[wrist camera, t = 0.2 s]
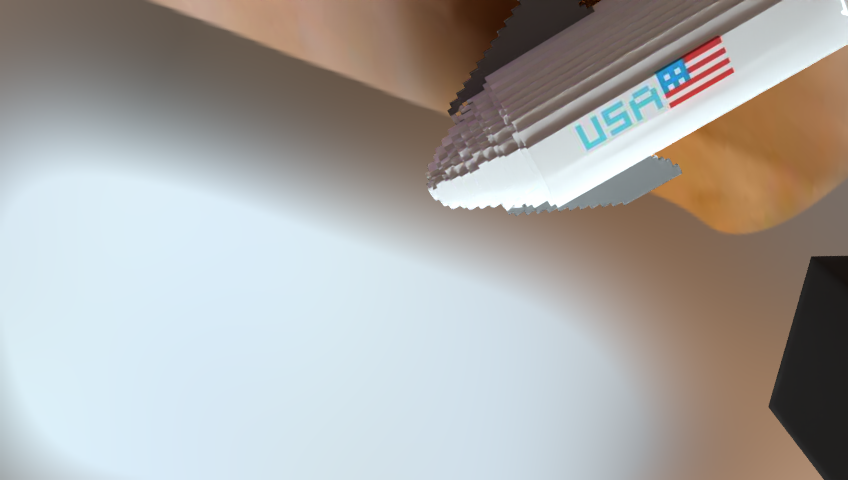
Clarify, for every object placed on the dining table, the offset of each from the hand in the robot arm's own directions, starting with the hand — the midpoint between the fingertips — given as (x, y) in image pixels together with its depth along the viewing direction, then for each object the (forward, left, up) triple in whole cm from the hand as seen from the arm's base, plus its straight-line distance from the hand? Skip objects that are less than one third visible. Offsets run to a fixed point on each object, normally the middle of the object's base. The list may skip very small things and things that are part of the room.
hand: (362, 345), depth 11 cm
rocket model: (-8, +29, -24) cm, 39 cm away
